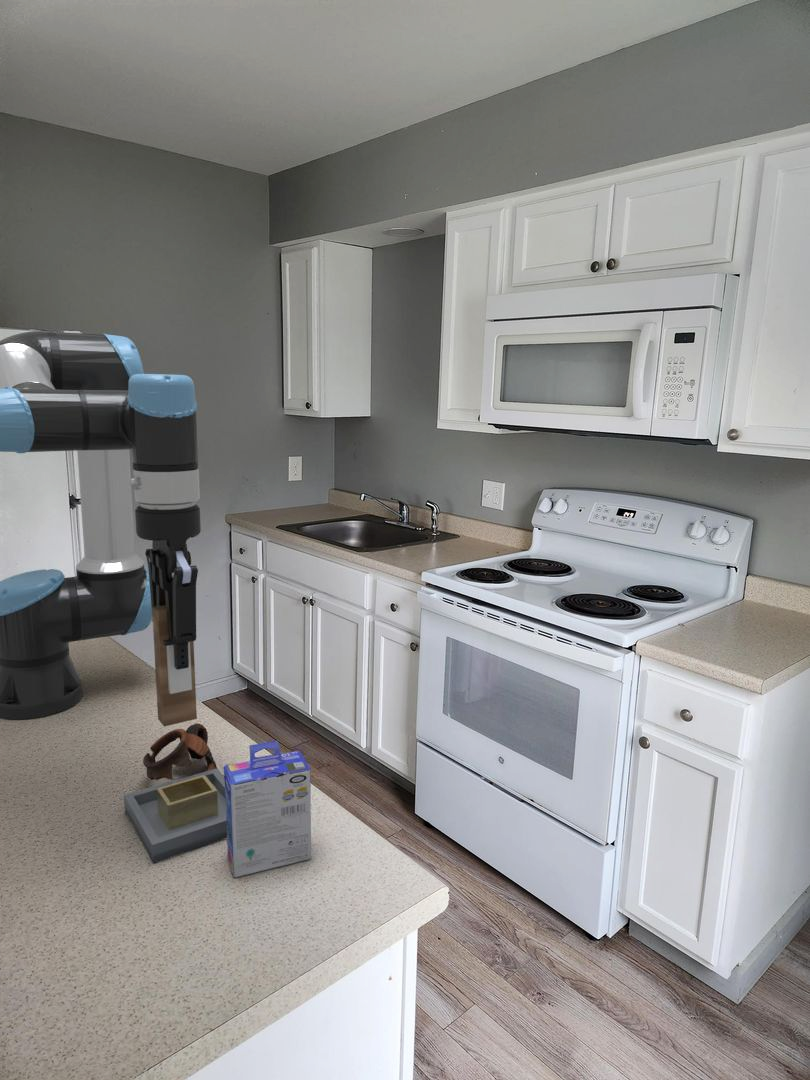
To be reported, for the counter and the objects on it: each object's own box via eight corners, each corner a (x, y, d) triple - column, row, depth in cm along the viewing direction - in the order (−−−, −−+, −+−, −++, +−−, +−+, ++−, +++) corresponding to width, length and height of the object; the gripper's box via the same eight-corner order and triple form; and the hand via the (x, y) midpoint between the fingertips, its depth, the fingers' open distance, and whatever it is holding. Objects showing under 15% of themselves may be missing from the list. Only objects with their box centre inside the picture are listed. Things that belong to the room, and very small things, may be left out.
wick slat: (158, 719, 94) (152, 606, 91) (190, 711, 96) (185, 602, 93) (163, 726, 92) (158, 612, 89) (196, 718, 94) (192, 607, 91)
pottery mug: (213, 798, 103) (180, 758, 100) (159, 817, 106) (125, 778, 103) (235, 739, 114) (206, 701, 111) (186, 758, 116) (156, 721, 113)
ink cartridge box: (301, 834, 95) (300, 731, 92) (314, 859, 90) (313, 752, 87) (224, 852, 91) (221, 745, 88) (233, 879, 86) (230, 767, 83)
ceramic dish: (124, 811, 99) (123, 795, 98) (217, 784, 106) (216, 768, 106) (153, 863, 88) (152, 845, 88) (253, 828, 96) (253, 811, 95)
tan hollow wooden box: (157, 812, 97) (156, 788, 96) (205, 797, 101) (204, 774, 100) (169, 830, 93) (168, 805, 93) (218, 814, 97) (217, 790, 96)
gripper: (119, 498, 93) (130, 672, 97) (154, 516, 80) (164, 715, 85) (178, 494, 97) (186, 661, 102) (220, 510, 84) (227, 701, 89)
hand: (176, 685), depth 93 cm, fingers closed on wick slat, 3 cm apart
